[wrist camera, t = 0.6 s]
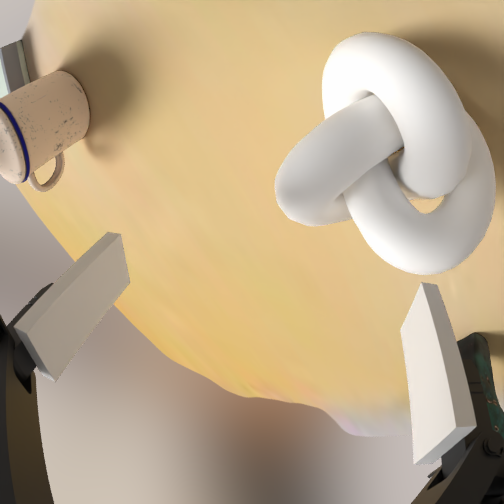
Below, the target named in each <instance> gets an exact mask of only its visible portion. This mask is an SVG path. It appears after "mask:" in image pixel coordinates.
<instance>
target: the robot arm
mask: <svg viewBox="0 0 504 504" xmlns="http://www.w3.org/2000/svg"><path fill="white" fill-rule="evenodd" d="M129 283H130V278H129V273H128V269H127V264H126V259H125V253H124V248H123V243H122V237H121V234H117V233H111V232H107V233H106V234H105V235H104V236H103V237H102V238H101V239H100V240H99V241H97V242H96V243H95V244H94V245H93V246H92V247H91V248H90V249H89V250H88V251H87V252H86V253H85V254H83V255H82V256H81V257H80V258H79V259H78V260H77V261H76V262H75V263H74V264H73V265H72V266H71V267H70V268H69V269H68V270H67V271H66V272H65V273H64V274H63V275H62V276H61V277H60V278H59V279H58V280H57V281H56V282H55V283H51V284H49V285H47V286H46V287H44V288H43V289H41V290H40V291H39V292H38V293H37V294H36V295H35V297H34V298H33V299H32V300H31V301H30V302H29V303H28V305H26V306H25V307H24V308H23V309H22V310H21V311H20V312H19V313H18V315H17V316H16V317H15V318H14V319H13V320H12V321H11V322H10V323H9V324H8V325H7V326H6V325H5V323H4V321H3V319H2V317H1V315H0V504H54V501H53V497H52V493H51V490H50V484H49V480H48V475H47V470H46V465H45V459H44V453H43V448H42V441H41V433H40V425H39V416H38V405H37V392H36V377H35V373H34V371H33V370H34V368H36V366H37V367H38V369H39V371H40V372H41V374H42V375H43V376H45V377H47V378H49V379H51V380H52V381H54V382H56V381H57V379H58V378H59V376H60V375H61V374H62V372H63V371H64V369H65V368H66V367H67V365H68V364H69V362H70V361H71V360H72V358H73V357H74V356H75V354H76V353H77V351H78V350H79V349H80V347H81V346H82V344H83V343H84V342H85V340H86V339H87V338H88V336H89V335H90V334H91V332H92V331H93V330H94V328H95V327H96V326H97V324H98V323H99V322H100V320H101V319H102V318H103V316H104V315H105V314H106V313H107V311H108V310H109V308H110V307H111V306H112V305H113V304H114V302H115V301H116V300H117V298H118V297H119V296H120V295H121V293H122V292H123V291H124V290H125V288H126V287H127V286H128V285H129ZM400 331H401V337H402V344H403V350H404V357H405V364H406V372H407V380H408V389H409V398H410V409H411V421H412V435H413V455H414V465H418V464H433V463H434V462H436V461H437V460H438V459H439V458H442V465H441V466H440V467H439V468H437V469H436V470H435V471H433V472H432V473H431V474H430V475H428V478H430V477H432V478H431V479H430V480H429V482H428V483H427V484H426V486H425V487H424V488H423V489H422V491H421V492H420V493H419V494H418V496H417V497H416V498H415V499H414V501H413V502H412V503H411V504H504V439H503V437H502V436H501V435H500V434H499V433H498V432H496V431H494V430H493V429H492V425H491V420H490V416H489V411H488V407H487V402H486V398H485V394H483V392H484V390H483V387H482V384H481V379H480V375H479V372H478V370H477V368H476V367H475V365H474V364H473V362H472V361H471V359H461V356H460V352H459V349H458V345H457V342H456V339H455V335H454V332H453V329H452V326H451V323H450V320H449V317H448V314H447V311H446V308H445V305H444V302H443V300H442V297H441V294H440V291H439V289H438V286H437V285H435V284H429V283H422V282H421V284H420V287H419V289H418V292H417V294H416V296H415V299H414V301H413V303H412V305H411V308H410V310H409V312H408V314H407V317H406V319H405V321H404V323H403V325H402V327H401V329H400Z"/></svg>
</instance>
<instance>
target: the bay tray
mask: <svg viewBox="0 0 504 504" xmlns="http://www.w3.org/2000/svg"><path fill="white" fill-rule="evenodd" d="M29 83H30V79H29V75H28V70H27V66H26V61H25V56H24V51H23V45H22V40H19V41H17V42H14V43H12V44H9V45H7V46H4V47H2V48H0V98H2V97H4V96H6V95H7V94H9V93H11V92H13V91H15V90H17V89H19V88H21V87H23V86H25V85H27V84H29Z"/></svg>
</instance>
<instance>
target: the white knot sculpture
mask: <svg viewBox="0 0 504 504" xmlns="http://www.w3.org/2000/svg"><path fill="white" fill-rule="evenodd" d="M373 93H374V95H373ZM322 98H323V108H324V114H325V120H324V121H323V122H321V123H320V124H319V125H318V126H316V127H315V128H314V129H313V130H312V131H311V132H309V133H308V134H307V135H306V136H305V137H304V138H303V139H301V140H300V141H299V142H298V143H297V144H296V145H295V146H294V147H293V149H292V150H291V151H290V152H289V154H288V155H287V157H286V158H285V160H284V161H283V163H282V165H281V167H280V168H279V170H278V173H277V175H276V178H275V193H276V201H277V203H278V205H279V207H280V208H281V209H282V210H283V212H284V213H285V214H286V215H287V217H288V218H289V219H291V220H293V221H296V222H299V223H301V224H304V225H307V226H322V225H328V224H332V223H337V222H341V221H346V220H349V219H353V220H354V222H355V224H356V225H357V227H358V228H359V230H360V232H361V233H362V235H363V237H364V239H365V240H366V242H367V243H368V244H369V246H370V247H371V248H372V249H373V250H374V252H376V253H377V254H378V255H379V256H380V257H381V258H382V259H383V260H385V261H386V262H388V263H389V264H391V265H392V266H394V267H396V268H398V269H401V270H403V271H406V272H408V273H414V274H420V275H430V274H439V273H442V272H445V271H447V270H450V269H452V268H454V267H456V266H457V265H459V264H460V263H461V262H463V261H464V260H465V259H466V258H468V257H469V256H470V254H471V253H472V252H473V251H474V250H475V248H476V247H477V246H478V244H479V243H480V242H481V240H482V239H483V237H484V236H485V233H486V231H487V229H488V227H489V224H490V222H491V219H492V214H493V210H494V205H495V195H496V180H495V172H494V165H493V161H492V158H491V154H490V151H489V148H488V146H487V143H486V141H485V139H484V137H483V135H482V133H481V131H480V129H479V128H478V126H477V124H476V123H475V121H474V120H473V119H472V118H471V116H470V115H469V114H468V113H467V112H466V111H465V110H464V107H463V104H462V102H461V100H460V98H459V96H458V94H457V92H456V90H455V88H454V87H453V85H452V83H451V82H450V81H449V79H448V78H447V77H446V75H445V74H444V73H443V71H442V70H441V69H440V67H439V66H438V65H437V64H436V63H435V62H434V61H433V60H432V59H431V58H430V57H429V56H428V55H427V54H426V53H425V52H423V51H422V50H421V49H419V48H418V47H416V46H415V45H413V44H412V43H410V42H408V41H407V40H404V39H401V38H399V37H396V36H393V35H389V34H383V33H376V32H362V33H359V34H356V35H353V36H351V37H349V38H347V39H345V40H343V41H341V42H340V43H339V44H338V45H337V46H335V48H334V49H333V51H332V53H331V54H330V56H329V59H328V61H327V63H326V65H325V69H324V72H323V79H322ZM402 147H404V149H403V150H401V151H399V152H397V153H395V154H393V153H394V152H396V151H397V150H399V149H400V148H402ZM391 154H393V155H391ZM442 195H445V196H444V199H443V200H442V202H441V204H440V205H439V206H438V207H437V208H436V209H435V210H434V211H432V212H431V213H428V214H424V213H421V212H419V211H418V210H417V209H416V208H415V207H414V206H413V205H412V204H411V203H410V201H409V200H413V199H435V198H437V197H440V196H442Z"/></svg>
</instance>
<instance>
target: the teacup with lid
mask: <svg viewBox="0 0 504 504" xmlns="http://www.w3.org/2000/svg"><path fill="white" fill-rule="evenodd" d="M89 121H90V112H89V105H88V101H87V98H86V95H85V93H84V91H83V89H82V87H81V85H80V84H79V82H78V81H77V80H76V79H75V78H74V77H73V76H72V75H70V74H69V73H67V72H64V71H55V72H53V73H50V74H48V75H46V76H44V77H41V78H39V79H37V80H35V81H33V82H31V83H29V84H27V85H25V86H23V87H21V88H19V89H17V90H15V91H13V92H11V93H9V94H7V95H6V96H4V97H2V98H0V174H1V175H2V176H3V177H4V178H5V179H6V180H7V181H9V182H11V183H13V184H19V183H22V182H25V181H26V180H27V179H28V182H29V184H30V186H31V187H32V188H33V189H35V190H37V191H40V192H46V191H48V190H50V189H52V188H53V187H54V186H55V185H56V184H57V182H58V181H59V179H60V178H61V176H62V173H63V170H64V165H65V161H64V154H63V151H64V150H65V149H67V148H68V147H70V146H71V145H73V144H74V143H76V142H78V141H79V140H81V139H82V138H83V137H84V135H85V134H86V132H87V130H88V126H89ZM54 157H55V158H56V167H55V171H54V173H53V175H52V177H51V178H50V179H49V180H48V181H47V182H46V183H45V184H43V185H40V184H39V183H38V182H37V180H36V177H35V174H34V171H35V170H37V169H38V168H39V167H41V166H42V165H44V164H45V163H46V162H48V161H49V160H51V159H52V158H54Z"/></svg>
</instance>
